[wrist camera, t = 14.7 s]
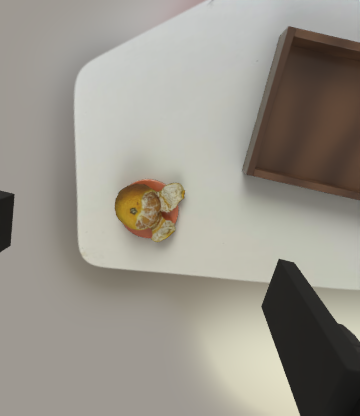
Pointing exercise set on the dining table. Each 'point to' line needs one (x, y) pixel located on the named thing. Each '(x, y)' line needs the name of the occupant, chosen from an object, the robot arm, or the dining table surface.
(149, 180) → the plate
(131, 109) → the dining table surface
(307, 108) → the bin
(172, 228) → the fruit
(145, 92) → the dining table surface
